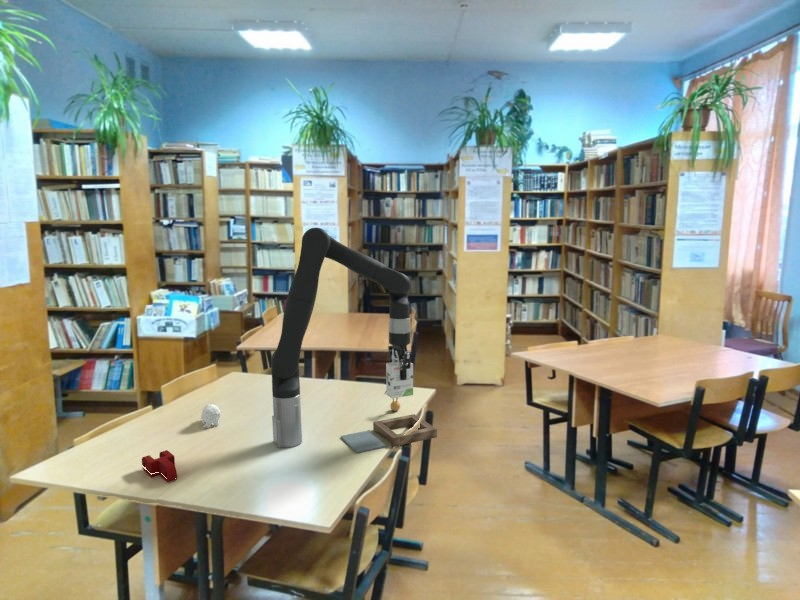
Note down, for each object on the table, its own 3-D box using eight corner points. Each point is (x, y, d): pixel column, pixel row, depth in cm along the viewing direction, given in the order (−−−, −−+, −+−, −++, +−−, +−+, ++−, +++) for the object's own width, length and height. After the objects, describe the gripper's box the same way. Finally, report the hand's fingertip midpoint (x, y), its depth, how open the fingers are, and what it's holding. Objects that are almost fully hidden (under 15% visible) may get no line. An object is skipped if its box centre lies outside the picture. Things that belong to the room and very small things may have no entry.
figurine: (405, 409, 219) (405, 380, 218) (405, 414, 214) (405, 384, 212) (385, 409, 220) (384, 380, 218) (384, 414, 214) (383, 384, 212)
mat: (356, 453, 178) (356, 451, 178) (340, 437, 191) (340, 435, 191) (386, 446, 183) (386, 445, 183) (369, 431, 196) (369, 430, 196)
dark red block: (142, 470, 169) (141, 455, 168) (165, 463, 173) (164, 448, 173) (161, 487, 157) (159, 471, 156) (185, 479, 162) (184, 463, 161)
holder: (393, 446, 183) (393, 438, 182) (373, 429, 198) (373, 422, 197) (437, 437, 190) (437, 429, 190) (414, 421, 205) (414, 414, 205)
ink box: (407, 391, 196) (407, 359, 194) (413, 395, 191) (413, 362, 189) (385, 394, 192) (385, 362, 190) (391, 398, 187) (391, 365, 186)
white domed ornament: (202, 407, 199) (196, 401, 209) (204, 430, 199) (197, 423, 209) (220, 404, 202) (212, 398, 212) (222, 426, 203) (214, 420, 213)
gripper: (381, 327, 193) (381, 374, 195) (399, 335, 180) (399, 384, 183) (399, 326, 196) (400, 371, 199) (418, 333, 183) (418, 381, 186)
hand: (399, 377), depth 191 cm, fingers closed on ink box, 5 cm apart
